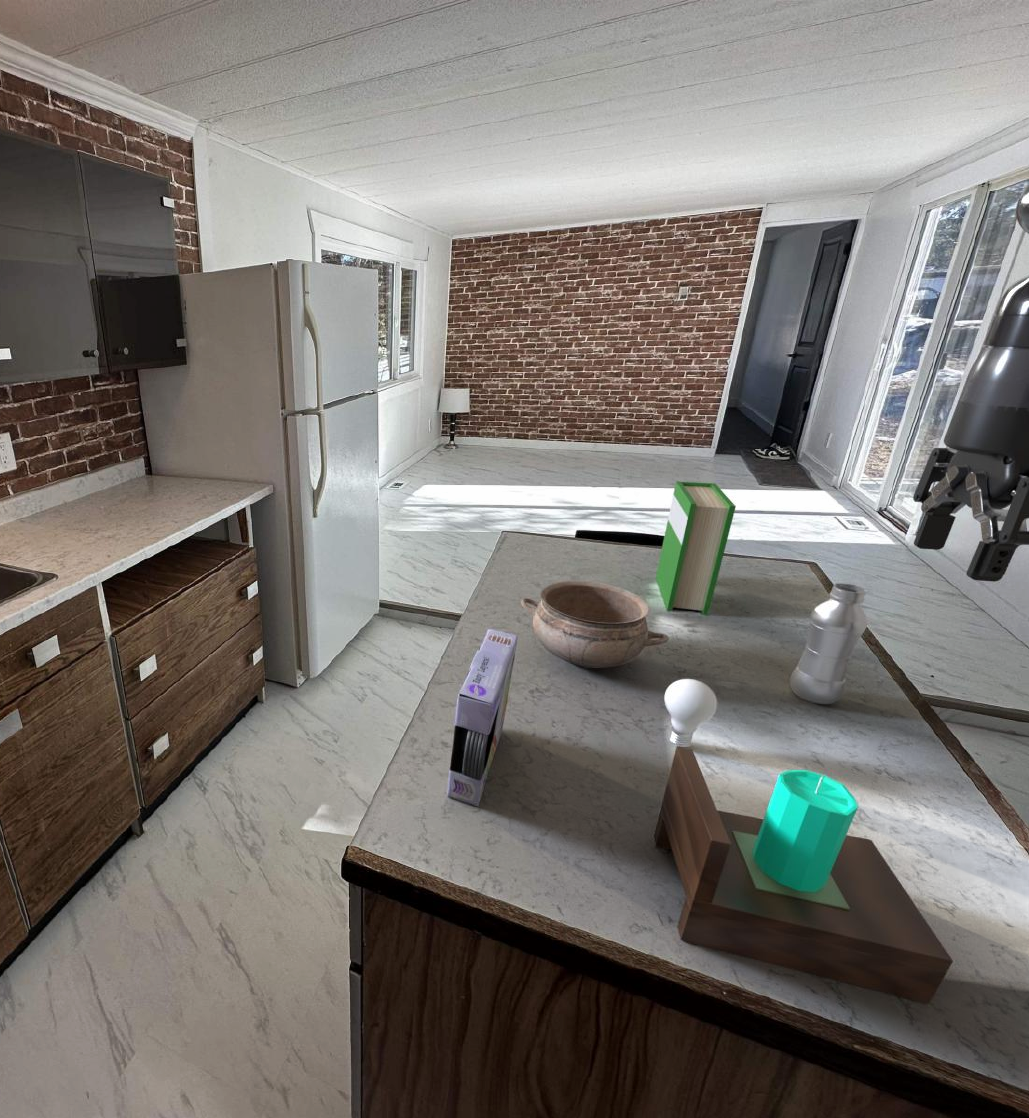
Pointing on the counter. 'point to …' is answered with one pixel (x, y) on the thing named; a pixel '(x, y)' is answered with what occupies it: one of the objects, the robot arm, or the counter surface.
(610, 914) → the counter surface
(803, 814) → the candle
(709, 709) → the lightbulb
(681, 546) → the hardback book
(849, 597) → the plastic bottle
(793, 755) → the counter surface
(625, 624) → the cooking pot
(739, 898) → the shelf
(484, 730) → the cake pan box
